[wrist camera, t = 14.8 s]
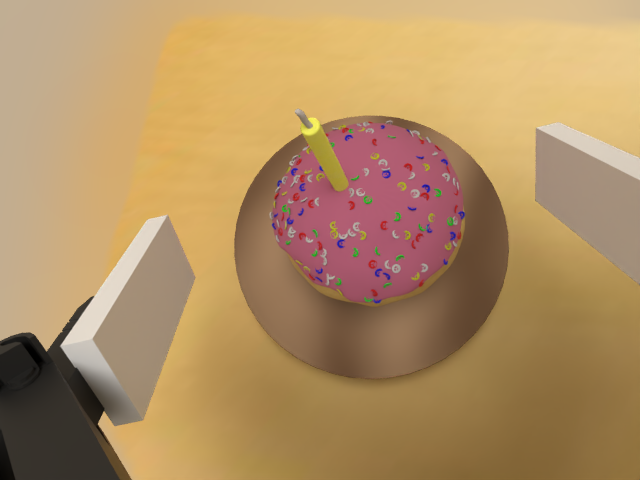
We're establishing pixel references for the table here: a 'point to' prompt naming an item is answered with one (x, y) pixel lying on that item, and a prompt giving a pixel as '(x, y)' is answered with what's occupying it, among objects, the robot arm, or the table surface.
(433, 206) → the cupcake
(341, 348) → the brown plate
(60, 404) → the robot arm
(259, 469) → the table surface
